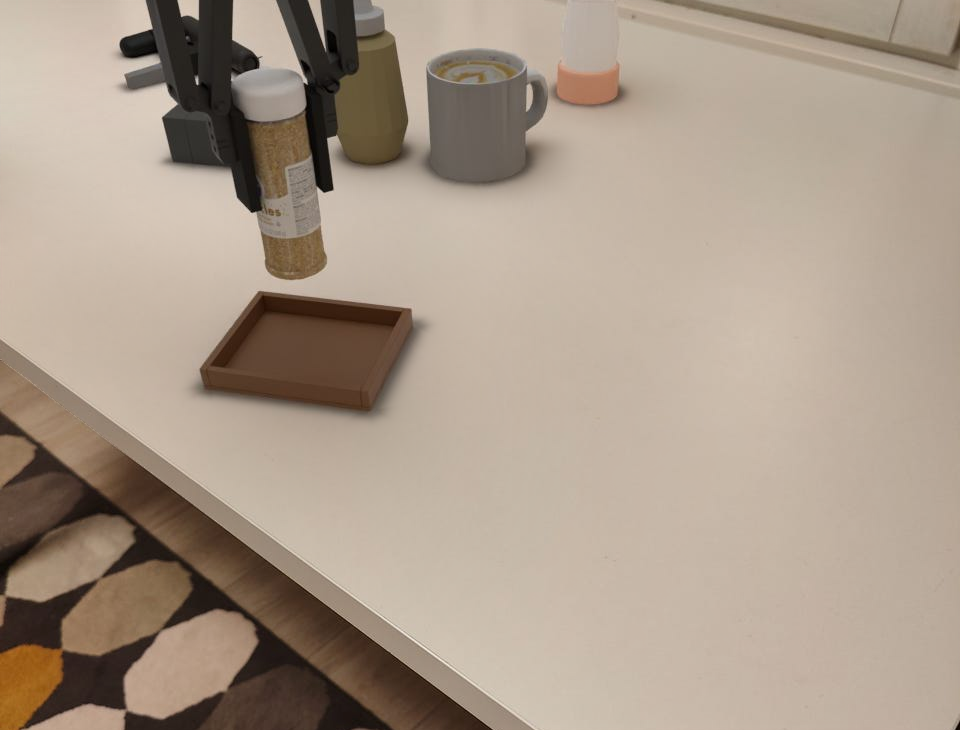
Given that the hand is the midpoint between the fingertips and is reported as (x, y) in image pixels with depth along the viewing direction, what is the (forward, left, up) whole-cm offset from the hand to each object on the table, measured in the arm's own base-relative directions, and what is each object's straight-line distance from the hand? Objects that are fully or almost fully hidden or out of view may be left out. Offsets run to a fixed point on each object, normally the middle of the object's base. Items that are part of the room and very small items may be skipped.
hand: (285, 193), depth 65 cm
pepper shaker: (+13, +58, -14) cm, 61 cm away
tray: (0, 0, -14) cm, 14 cm away
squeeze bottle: (-7, +37, -14) cm, 40 cm away
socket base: (-22, +36, -14) cm, 44 cm away
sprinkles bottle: (0, 0, -6) cm, 6 cm away
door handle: (-40, +57, -14) cm, 71 cm away
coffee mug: (+6, +38, -14) cm, 41 cm away
